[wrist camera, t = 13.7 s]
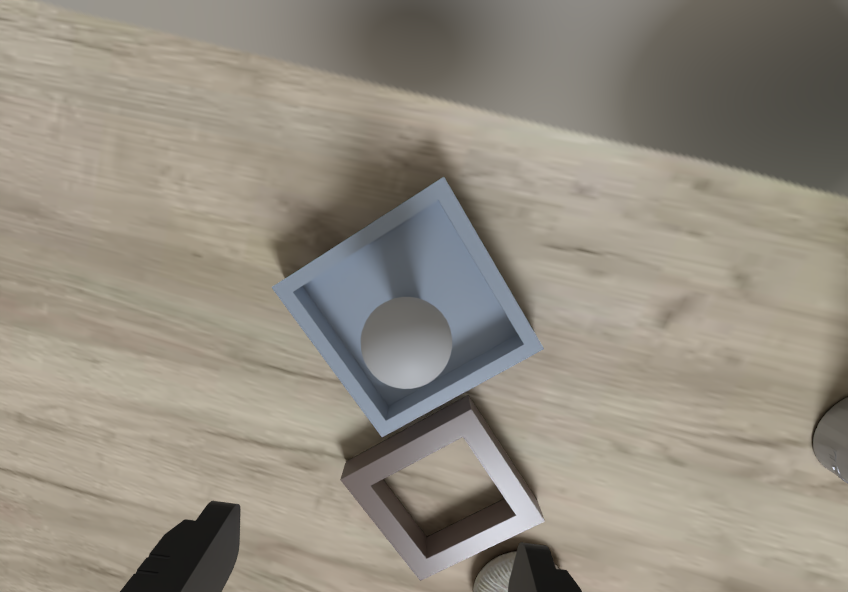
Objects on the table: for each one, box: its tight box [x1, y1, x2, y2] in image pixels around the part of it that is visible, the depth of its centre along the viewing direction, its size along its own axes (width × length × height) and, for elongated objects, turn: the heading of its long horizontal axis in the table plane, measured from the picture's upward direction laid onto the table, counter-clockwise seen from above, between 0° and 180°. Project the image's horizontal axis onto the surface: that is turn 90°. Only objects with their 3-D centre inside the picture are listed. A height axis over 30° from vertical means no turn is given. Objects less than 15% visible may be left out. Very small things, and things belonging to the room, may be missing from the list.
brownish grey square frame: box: [340, 395, 545, 581], centre depth 38 cm, size 14×14×2 cm
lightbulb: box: [360, 297, 452, 389], centre depth 28 cm, size 6×6×11 cm
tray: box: [272, 177, 544, 437], centre depth 33 cm, size 16×16×3 cm
